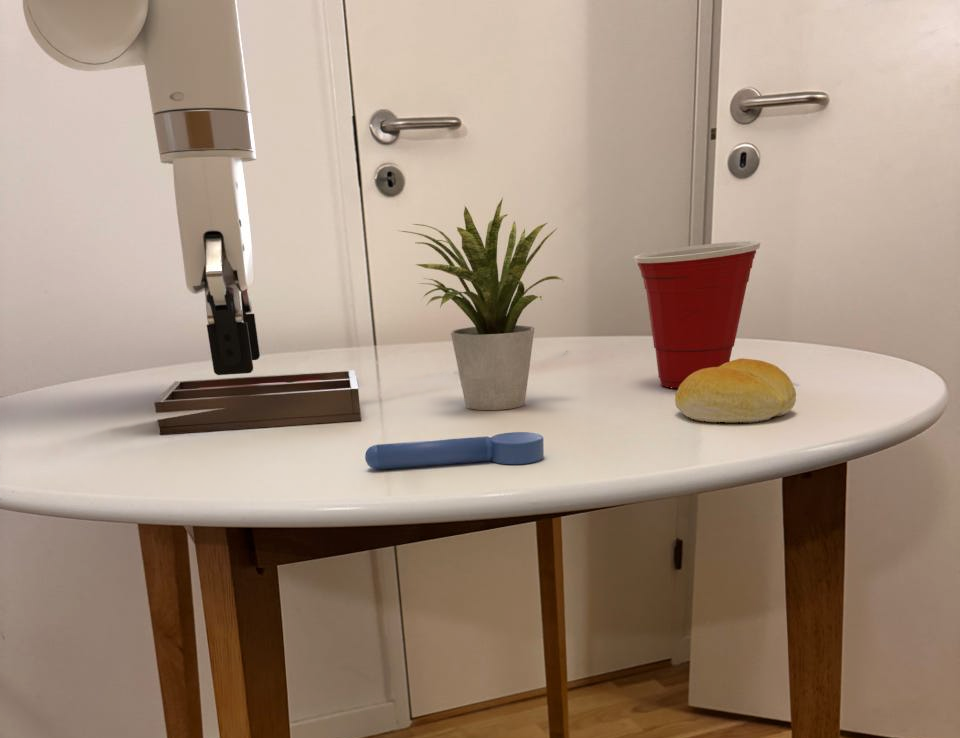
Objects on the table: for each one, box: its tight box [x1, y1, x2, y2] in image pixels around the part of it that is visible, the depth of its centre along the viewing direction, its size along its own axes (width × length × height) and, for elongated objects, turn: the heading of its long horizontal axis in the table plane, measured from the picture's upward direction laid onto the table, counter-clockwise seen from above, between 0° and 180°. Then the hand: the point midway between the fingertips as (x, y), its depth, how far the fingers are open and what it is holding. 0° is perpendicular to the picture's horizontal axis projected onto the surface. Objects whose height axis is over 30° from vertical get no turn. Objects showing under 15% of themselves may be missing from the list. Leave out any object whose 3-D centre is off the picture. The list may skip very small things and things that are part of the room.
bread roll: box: [674, 357, 797, 424], centre depth 72 cm, size 8×9×4 cm
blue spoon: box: [364, 431, 545, 470], centre depth 62 cm, size 12×4×2 cm, turn 99°
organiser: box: [153, 369, 362, 436], centre depth 81 cm, size 16×11×3 cm
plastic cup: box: [632, 240, 761, 389], centre depth 84 cm, size 11×11×12 cm
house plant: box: [396, 196, 563, 411], centre depth 79 cm, size 14×14×16 cm
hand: (238, 365), depth 82 cm, fingers open, 8 cm apart
